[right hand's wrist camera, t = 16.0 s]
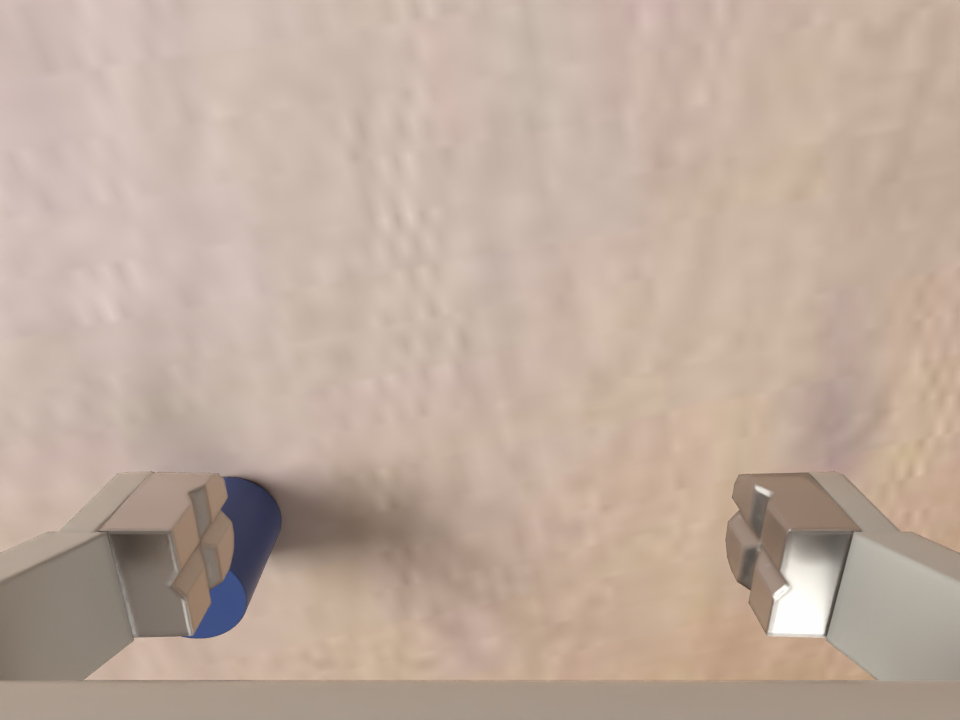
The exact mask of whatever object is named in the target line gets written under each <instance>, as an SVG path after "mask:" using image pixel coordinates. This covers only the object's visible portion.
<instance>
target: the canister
mask: <svg viewBox="0 0 960 720" xmlns="http://www.w3.org/2000/svg"><path fill="white" fill-rule="evenodd" d="M223 479H224V481H225V485H226V490H227V495H228V498H227V500H226V502H225V503H224V505H223V506H222V508H221V509H220V510H221V511H222V512H223V513H224V514H225V515H226V516H227V517H228V518H229V519H230V520H231V521H232V524H233V531H234V552H233V556H232V561H231V565H230V569H229V571H228V573H227V575H226V577H225V578H224V580H223V582H222V583H220V584H219V585H217V586H215V587H214V588H212V589H211V590H209V592H210V597H211V604H210V606H209V608H208V610H207V612H206V613H205V615H204V617H203V619H202V621H201V622H200V624H199V626H198V628H197V630H196V632H195V633H194V635H193V636H182V637H187V638H210V637H214V636H218V635H221V634H223V633H225V632H227V631H229V630H231V629H232V628H233V627H235V626H236V625H237V624H238V623H239V622H240V620H241V619H242V618H243V616H244V614H245V612H246V610H247V607H248V605H249V603H250V600H251V598H252V595H253V593H254V591H255V588H256V586H257V584H258V581H259V579H260V577H261V574H262V572H263V570H264V567H265V565H266V563H267V560H268V558H269V555H270V553H271V551H272V548H273V546H274V544H275V541H276V539H277V537H278V534H279V532H280V528H281V514H280V511H279V508H278V506H277V504H276V502H275V500H274V499H273V498H272V497H271V495H270V494H269V493H268V492H267V491H265V490H264V489H263V488H261V487H260V486H258V485H256V484H255V483H252V482H250V481H247V480H244V479H240V478H233V477H223Z"/></svg>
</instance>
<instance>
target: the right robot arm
mask: <svg viewBox="0 0 960 720" xmlns="http://www.w3.org/2000/svg"><path fill="white" fill-rule="evenodd" d="M227 498H228V495H227V490H226V485H225V481H224V479H223V478H222V477H221V476H220V474H219V473H172V472H157V473H155V472H125V473H119V474H117V475H116V476H115V477H114V478H113V479H112V480H111V481H110V482H109V483H108V484H107V485H106V486H105V487H104V488H103V489H102V490H101V491H100V492H99V493H98V494H97V495H96V496H95V497H94V498H93V499H92V500H91V501H90V502H89V503H88V504H87V505H86V506H85V507H84V508H83V509H82V510H81V511H79V512H78V513H77V514H76V515H75V516H74V517H73V518H72V519H71V520H70V521H69V522H68V523H67V524H66V525H65V526H64V527H63V528H62V529H61V530H60V531H59V532H47V533H45V534H42V535H40V536H38V537H36V538H33V539H31V540H29V541H27V542H24V543H22V544H20V545H17V546H15V547H13V548H11V549H8V550H6V551H4V552H2V553H0V720H960V553H958V552H956V551H954V550H951V549H949V548H947V547H945V546H942V545H940V544H938V543H936V542H933V541H931V540H929V539H927V538H924V537H922V536H920V535H918V534H915V533H913V532H901V531H900V530H899V529H898V528H897V527H896V526H895V525H894V524H893V523H892V522H891V521H890V520H889V519H888V518H887V517H886V516H885V515H884V514H883V513H882V512H881V511H880V510H879V509H878V508H877V507H876V506H875V505H874V504H873V503H872V502H871V501H870V500H869V499H868V498H866V497H865V496H864V495H863V494H862V493H861V492H860V491H859V490H858V489H857V488H856V487H855V486H854V485H853V484H852V483H851V482H850V481H849V480H848V479H847V478H846V477H845V476H844V475H843V474H840V473H838V472H835V471H834V472H809V473H771V474H741V475H738V477H737V480H736V482H735V484H734V489H733V495H732V498H733V500H734V502H735V503H736V505H737V506H738V508H739V509H740V510H739V511H738V512H737V513H736V514H735V515H734V516H733V517H732V518H731V519H730V520H729V521H728V525H727V532H726V550H727V558H728V562H729V565H730V568H731V571H732V573H733V575H734V577H735V579H736V580H737V582H738V583H740V584H741V585H743V586H745V587H746V588H748V589H749V590H751V592H750V597H749V604H750V606H751V608H752V610H753V612H754V613H755V615H756V617H757V619H758V621H759V622H760V624H761V626H762V628H763V630H764V631H765V633H766V635H767V636H788V637H824V638H826V641H828V642H829V643H830V644H832V645H833V646H834V647H835V648H837V649H838V650H839V651H840V652H842V653H843V654H844V655H846V656H847V657H848V658H849V659H851V660H852V661H853V662H855V663H856V664H857V665H858V666H860V667H861V668H862V669H863V670H865V671H866V672H867V673H869V674H870V675H871V676H872V677H874V678H875V679H876V680H84V679H85V678H87V677H88V676H89V675H90V674H92V673H93V672H94V671H95V670H97V669H98V668H99V667H101V666H102V665H103V664H104V663H106V662H107V661H108V660H110V659H111V658H112V657H113V656H115V655H116V654H117V653H118V652H120V651H121V650H122V649H124V648H125V647H126V646H127V645H129V644H130V643H131V642H133V641H134V639H133V638H136V637H171V636H193V635H194V633H195V632H196V630H197V628H198V626H199V624H200V622H201V621H202V619H203V617H204V615H205V613H206V612H207V610H208V608H209V606H210V604H211V597H210V592H209V590H211V589H212V588H214V587H215V586H217V585H219V584H220V583H222V582H223V580H224V578H225V577H226V575H227V573H228V571H229V569H230V565H231V561H232V556H233V552H234V531H233V524H232V521H231V520H230V519H229V518H228V517H227V516H226V515H225V514H224V513H223V512H222V511H221V510H220V509H221V508H222V506H223V505H224V503H225V502H226V500H227Z"/></svg>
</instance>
